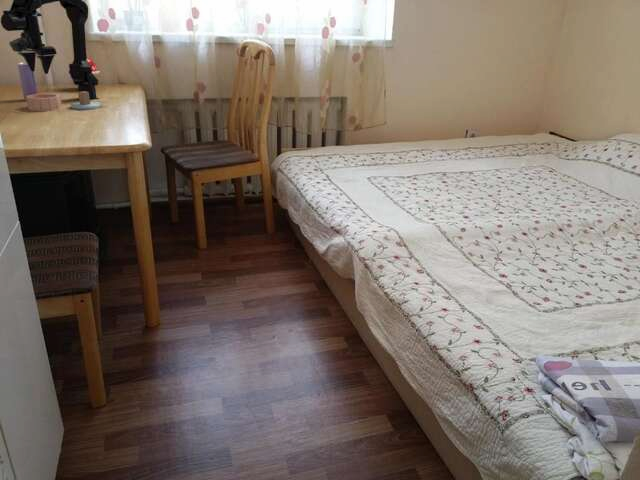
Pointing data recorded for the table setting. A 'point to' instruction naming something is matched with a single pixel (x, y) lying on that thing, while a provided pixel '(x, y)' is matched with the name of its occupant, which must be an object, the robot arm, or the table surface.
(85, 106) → the lid
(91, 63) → the decorative mushroom
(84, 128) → the table surface
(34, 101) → the bowl
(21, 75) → the purple rectangular block
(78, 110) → the mat
